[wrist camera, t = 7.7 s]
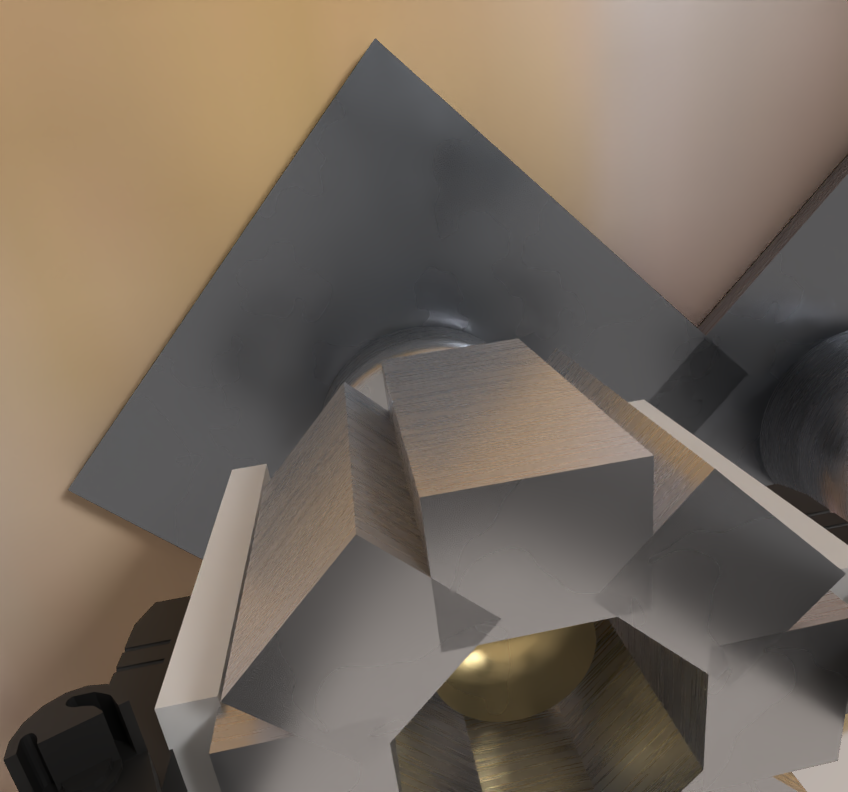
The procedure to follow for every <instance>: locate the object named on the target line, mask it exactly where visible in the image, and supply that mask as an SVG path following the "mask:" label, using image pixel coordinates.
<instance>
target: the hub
mask: <svg viewBox="0 0 848 792" xmlns="http://www.w3.org/2000/svg"><path fill="white" fill-rule="evenodd" d="M516 338H518V339H520V340H521V341H522V342H523V343H524V344H525V345H527V346H528V347H529V348H530V349H531V350H532V351H533V352H535V353H536V354H537V355H538V356H539V357H540V358H542V359H543V360H544V361H545V360H546V359H547V358H548V357H549V355H550V354H551V353H552V352H553V351H554V349H555V348H557V349H558V350H560V351H561V352H562V353H564V354H565V355H566V356H568V357H569V358H570V359H572V360H573V361H574V362H576V363H577V364H578V365H579V366H581V367H582V368H583V369H585V370H586V371H587V372H589V373H590V374H591V375H593V376H594V377H595V378H597V379H598V380H599V381H601V382H602V383H603V384H604V385H606V386H607V387H608V388H610V389H611V390H612V391H614V392H615V393H616V394H618V395H619V396H620V397H622V398H623V399H624V400H625V401H627V402H632V401H638V400H645V401H647V402H649V401H651V400H650V399H651V398H653V401H651V403H650V402H649V404H651V405H652V404H653V402H654V401H655V402H654V405H658V404H659V402H660V403H661V405H660V404H659V405H658V406H659V407H661V408H659V407H658V406H656V407H657V408H658V410H659V411H660V410H664V411H665V409H666V408H667V407H668V408H667V410H669V411H665V412H666V416H668V417H670V416H671V415H674V416H673V417H672V416H671V418H670V419H674V417H675V416H676V415H678V414H680V416H681V414H682V412H683V414H682V415H683V416H684V417H685V418H688V416H689V415H688V414H690V416H689V418H690V417H691V416H693V418H694V419H696V417H699V416H701V415H702V416H701V417H702V418H701V417H699V418H698V420H695V422H694V423H696V427H694V426H695V425H694V423H692V422H693V421H694V420H693V421H692V419H693V418H690V419H691V420H689V419H688V420H689V421H690V422H688V421H687V419H685V418H684V417H683V416H682V417H683V420H681V419H682V417H680V416H679V415H678V416H679V417H678V416H676V417H678V418H676V417H675V422H676V420H677V419H678V420H681V421H679V422H678V420H677V422H678V423H677V422H676V423H677V424H680V422H681V423H683V421H684V419H685V421H686V422H685V421H684V422H685V423H687V422H688V423H687V424H686V425H689V423H690V424H691V425H689V427H693V428H691V429H692V430H693V429H695V428H698V426H700V425H701V424H703V423H704V421H705V418H706V417H707V418H706V420H707V419H708V418H709V417H710V416H711V415H710V413H711V411H710V410H711V409H713V408H711V407H713V405H715V406H717V405H716V404H715V403H717V402H718V400H720V401H721V402H719V403H717V404H720V403H722V402H723V401H724V400H725V398H726V396H727V395H726V394H727V393H728V396H729V395H730V394H729V392H730V391H729V390H731V389H732V388H733V390H734V389H735V388H736V386H735V387H734V386H733V385H734V384H735V383H736V384H735V385H737V384H739V383H740V382H739V381H741V380H742V378H743V375H745V376H744V377H746V375H747V374H748V373H745V371H744V370H742V369H741V367H740V369H741V370H742V371H740V370H739V372H738V373H740V372H741V373H742V372H743V371H744V372H743V373H742V376H741V374H738V373H737V375H738V376H737V375H736V372H737V371H738V369H739V366H738V364H736V366H732V365H733V364H735V362H734V361H733V360H732V359H731V358H729V359H728V357H729V356H727V355H726V354H725V353H724V352H723V351H721V352H723V353H724V354H723V353H721V352H720V351H719V349H717V351H716V348H718V346H717V347H715V346H716V345H715V344H714V343H713V342H712V341H711V342H709V343H707V341H708V340H709V341H710V339H708V338H707V336H705V335H704V334H703V333H702V332H701V331H700V330H699V329H698V328H697V327H695V326H694V325H693V324H692V323H691V322H690V321H689V320H688V319H687V318H685V317H684V316H683V315H682V314H681V313H680V312H679V311H678V310H677V309H675V308H674V307H673V306H672V305H671V304H670V303H669V302H668V301H667V300H665V299H664V298H663V297H662V296H661V295H660V294H659V293H658V292H657V291H655V290H654V289H653V288H652V287H651V286H650V285H649V284H648V283H646V282H645V281H644V280H643V279H642V278H641V277H640V276H639V275H638V274H636V273H635V272H634V271H633V270H632V269H631V268H630V267H629V266H628V265H626V264H625V263H624V262H623V261H622V260H621V259H620V258H619V257H618V256H616V255H615V254H614V253H613V252H612V251H611V250H610V249H609V248H608V247H606V246H605V245H604V244H603V243H602V242H601V241H600V240H599V239H598V238H596V237H595V236H594V235H593V234H592V233H591V232H590V231H589V230H588V229H586V228H585V227H584V226H583V225H582V224H581V223H580V222H579V221H578V220H576V219H575V218H574V217H573V216H572V215H571V214H570V213H569V212H568V211H566V210H565V209H564V208H563V207H562V206H561V205H560V204H559V203H558V202H556V201H555V200H554V199H553V198H552V197H551V196H550V195H549V194H548V193H546V192H545V191H544V190H543V189H542V188H541V187H540V186H539V185H538V184H536V183H535V182H534V181H533V180H532V179H531V178H530V177H529V176H528V175H526V174H525V173H524V172H523V171H522V170H521V169H520V168H519V167H518V166H516V165H515V164H514V163H513V162H512V161H511V160H510V159H509V158H508V157H506V156H505V155H504V154H503V153H502V152H501V151H500V150H499V149H498V148H496V147H495V146H494V145H493V144H492V143H491V142H490V141H489V140H488V139H486V138H485V137H484V136H483V135H482V134H481V133H480V132H479V131H478V130H476V129H475V128H474V127H473V126H472V125H471V124H470V123H469V122H468V121H466V120H465V119H464V118H463V117H462V116H461V115H460V114H459V113H458V112H456V111H455V110H454V109H453V108H452V107H451V106H450V105H449V104H448V103H446V102H445V101H444V100H443V99H442V98H441V97H440V96H439V95H438V94H436V93H435V92H434V91H433V90H432V89H431V88H430V87H429V86H428V85H426V84H425V83H424V82H423V81H422V80H421V79H420V78H419V77H418V76H416V75H415V74H414V73H413V72H412V71H411V70H410V69H409V68H408V67H406V66H405V65H404V64H403V63H402V62H401V61H400V60H399V59H398V58H396V57H395V56H394V55H393V54H392V53H391V52H390V51H389V50H388V49H386V48H385V47H384V46H383V45H382V44H381V43H380V42H379V41H378V40H376V39H374V41H373V42H372V44H371V45H370V46H369V48H368V49H367V51H366V52H365V54H364V55H363V57H362V58H361V60H360V61H359V63H358V64H357V66H356V67H355V69H354V70H353V71H352V73H351V74H350V76H349V77H348V79H347V80H346V82H345V83H344V85H343V86H342V88H341V89H340V91H339V92H338V94H337V95H336V96H335V98H334V99H333V101H332V102H331V104H330V105H329V107H328V108H327V110H326V111H325V113H324V114H323V116H322V117H321V118H320V120H319V121H318V123H317V124H316V126H315V127H314V129H313V130H312V132H311V133H310V135H309V136H308V138H307V139H306V141H305V142H304V143H303V145H302V146H301V148H300V149H299V151H298V152H297V154H296V155H295V157H294V158H293V160H292V161H291V163H290V164H289V166H288V167H287V168H286V170H285V171H284V173H283V174H282V176H281V177H280V179H279V180H278V182H277V183H276V185H275V186H274V188H273V189H272V191H271V192H270V193H269V195H268V196H267V198H266V199H265V201H264V202H263V204H262V205H261V207H260V208H259V210H258V211H257V213H256V214H255V216H254V217H253V218H252V220H251V221H250V223H249V224H248V226H247V227H246V229H245V230H244V232H243V233H242V235H241V236H240V238H239V239H238V240H237V242H236V243H235V245H234V246H233V248H232V249H231V251H230V252H229V254H228V255H227V257H226V258H225V260H224V261H223V263H222V264H221V265H220V267H219V268H218V270H217V271H216V273H215V274H214V276H213V277H212V279H211V280H210V282H209V283H208V285H207V286H206V288H205V289H204V290H203V292H202V293H201V295H200V296H199V298H198V299H197V301H196V302H195V304H194V305H193V307H192V308H191V310H190V311H189V313H188V314H187V315H186V317H185V318H184V320H183V321H182V323H181V324H180V326H179V327H178V329H177V330H176V332H175V333H174V335H173V336H172V338H171V339H170V340H169V342H168V343H167V345H166V346H165V348H164V349H163V351H162V352H161V354H160V355H159V357H158V358H157V360H156V361H155V362H154V364H153V365H152V367H151V368H150V370H149V371H148V373H147V374H146V376H145V377H144V379H143V380H142V382H141V383H140V385H139V386H138V387H137V389H136V390H135V392H134V393H133V395H132V396H131V398H130V399H129V401H128V402H127V404H126V405H125V407H124V408H123V410H122V411H121V412H120V414H119V415H118V417H117V418H116V420H115V421H114V423H113V424H112V426H111V427H110V429H109V430H108V432H107V433H106V435H105V436H104V437H103V439H102V440H101V442H100V443H99V445H98V446H97V448H96V449H95V451H94V452H93V454H92V455H91V457H90V458H89V460H88V461H87V462H86V464H85V465H84V467H83V468H82V470H81V471H80V473H79V474H78V476H77V477H76V479H75V480H74V482H73V483H72V484H71V486H70V487H69V489H68V490H69V491H71V492H73V493H75V494H77V495H78V496H80V497H82V498H84V499H86V500H88V501H90V502H92V503H94V504H96V505H98V506H100V507H102V508H104V509H106V510H108V511H109V512H111V513H113V514H115V515H117V516H119V517H121V518H123V519H125V520H127V521H129V522H131V523H133V524H135V525H137V526H139V527H140V528H142V529H144V530H146V531H148V532H150V533H152V534H154V535H156V536H158V537H160V538H162V539H164V540H166V541H168V542H170V543H172V544H173V545H175V546H177V547H179V548H181V549H183V550H185V551H187V552H189V553H191V554H193V555H195V556H197V557H199V558H201V559H203V558H204V555H205V552H206V549H207V545H208V542H209V539H210V536H211V533H212V530H213V527H214V524H215V521H216V518H217V515H218V512H219V508H220V505H221V502H222V499H223V496H224V493H225V490H226V487H227V484H228V481H229V478H230V475H231V471H232V470H233V469H239V468H245V467H250V466H256V465H262V464H267V467H268V471H269V476H270V479H271V477H272V476H273V475H274V473H275V472H276V471H277V469H278V468H279V467H280V465H281V464H282V463H283V462H284V460H285V459H286V458H287V456H288V455H289V454H290V452H291V451H292V450H293V448H294V447H295V446H296V444H297V443H298V442H299V440H300V439H301V438H302V436H303V435H304V434H305V432H306V431H307V430H308V429H309V427H310V426H311V425H312V423H313V422H314V421H315V419H316V418H317V417H318V415H319V414H320V413H321V411H322V410H323V409H324V407H325V406H326V405H327V403H328V402H329V401H330V399H331V398H332V397H333V396H334V394H335V393H336V392H337V390H338V389H339V388H340V386H341V385H342V384H343V382H346V383H347V384H349V385H350V386H352V387H353V388H355V389H356V390H358V391H359V392H361V393H362V394H364V395H365V396H367V397H368V398H370V399H371V400H373V401H374V402H376V403H377V404H379V405H380V406H381V407H383V408H384V409H386V410H387V411H388V405H387V398H386V392H385V385H384V378H383V372H382V365H381V360H383V359H389V358H396V357H402V356H408V355H415V354H421V353H427V352H434V351H440V350H446V349H453V348H459V347H466V346H472V345H478V344H485V343H491V342H497V341H504V340H510V339H516ZM703 339H704V340H703ZM707 339H708V340H707ZM702 340H703V343H702ZM705 340H706V341H705ZM700 342H701V343H702V344H699V343H700ZM704 342H706V343H707V344H706V343H705V344H704ZM710 343H713V345H715V346H713V345H712V346H711V345H709V344H710ZM703 344H704V346H705V345H708V346H706V349H705V347H704V346H703ZM699 345H700V346H699ZM701 345H702V346H701ZM709 346H711V349H710V347H709ZM700 347H701V348H700ZM702 347H703V348H702ZM707 347H709V348H708V349H707ZM713 347H715V351H716V352H715V351H713V350H714V349H713ZM695 348H696V349H697V348H698V349H700V351H701V350H703V349H705V350H707V351H709V349H710V352H708V353H707V351H705V352H706V354H705V357H706V358H708V357H709V359H707V362H708V363H710V364H713V363H714V364H713V367H714V366H715V364H716V365H717V363H718V364H719V365H718V366H715V367H714V370H713V369H711V368H712V367H711V366H712V365H710V364H708V363H707V364H708V366H707V364H706V365H705V368H706V369H707V370H708V372H709V371H710V372H709V374H711V372H712V371H713V372H715V373H714V374H713V372H712V374H713V375H712V374H711V375H712V377H713V378H714V375H715V374H716V372H717V370H718V371H719V370H720V371H719V372H717V373H718V375H719V376H720V374H719V373H722V372H723V370H724V369H725V371H726V372H725V371H724V372H723V373H724V375H723V373H722V376H723V377H724V376H725V375H726V376H727V378H730V376H731V378H732V375H733V376H734V377H733V378H732V379H733V380H734V378H735V377H736V378H735V380H737V382H739V383H737V382H735V383H732V382H733V380H732V381H731V378H730V379H726V378H723V379H725V381H726V380H727V381H726V382H728V380H729V382H728V384H727V383H726V382H725V381H724V380H723V379H722V377H720V379H719V376H718V378H717V377H715V379H714V381H716V382H718V381H719V382H718V385H719V384H720V383H722V380H723V382H724V383H725V384H724V383H723V384H722V386H723V387H724V388H723V387H722V386H721V385H719V387H720V386H721V387H720V388H715V386H716V385H717V383H714V381H713V383H714V384H713V385H709V386H708V383H709V382H710V381H708V383H706V381H707V380H711V378H712V377H711V376H710V375H709V376H710V377H708V375H707V374H708V372H707V370H704V369H705V368H704V367H703V366H704V364H705V363H704V362H706V358H705V357H704V354H703V353H704V352H703V351H704V350H703V351H702V352H701V354H703V355H701V354H700V351H699V350H697V351H695V350H694V349H695ZM711 350H712V351H711ZM692 351H693V354H692V356H691V353H692ZM718 351H719V352H718ZM695 352H696V353H695ZM713 352H715V353H713ZM717 352H718V353H721V354H722V355H720V354H718V356H719V355H720V357H718V356H715V354H716V355H717ZM709 353H710V354H711V355H710V354H709ZM712 353H713V355H712ZM695 354H696V356H695ZM697 354H698V355H697ZM699 354H700V355H699ZM708 355H710V356H708ZM724 355H726V356H727V357H725V356H724ZM688 356H689V358H690V356H691V358H690V359H689V360H688ZM693 356H694V357H693ZM698 356H699V357H700V356H701V359H700V361H702V362H700V361H699V360H697V359H698V358H699V357H698ZM707 356H708V357H707ZM713 356H715V357H713ZM722 356H723V358H724V357H725V358H724V359H726V358H727V359H728V360H729V362H728V361H727V359H726V361H727V362H726V361H725V360H724V359H723V361H722V362H723V363H724V361H725V363H724V364H723V365H722V364H721V365H722V368H723V367H724V369H721V365H720V363H721V362H719V361H721V360H722V358H721V357H722ZM692 357H693V358H692ZM696 357H697V358H696ZM702 357H704V358H702ZM711 357H712V358H713V360H714V361H715V362H716V363H715V362H713V360H712V359H711ZM716 357H717V359H718V358H720V359H721V360H720V359H718V360H717V359H715V358H716ZM695 358H696V361H699V362H700V363H701V364H700V363H698V362H696V363H694V362H695ZM693 359H694V360H693ZM704 359H705V361H704ZM710 359H711V360H712V361H711V360H710ZM730 359H731V360H732V361H733V362H732V363H731V364H732V365H730V364H728V363H730V362H731V361H730ZM685 360H686V361H688V365H687V362H686V361H685ZM690 360H693V361H694V362H691V361H690ZM689 361H690V362H691V363H693V365H692V364H690V363H689ZM709 361H710V362H709ZM685 362H686V363H685ZM683 363H685V365H686V366H687V367H686V366H684V364H683ZM697 363H698V364H699V365H698V364H697ZM702 363H704V364H702ZM726 363H727V364H728V365H727V364H726ZM682 364H683V365H682ZM689 364H690V366H689ZM695 364H697V367H698V368H699V369H698V371H699V370H702V369H703V371H702V373H699V372H698V371H695V372H694V370H697V368H696V367H695V366H696V365H695ZM700 365H701V366H700ZM702 365H703V366H702ZM693 366H694V368H693V369H692V367H693ZM699 366H700V367H699ZM706 366H707V367H708V368H709V369H710V370H709V369H708V368H707V367H706ZM709 366H710V367H711V368H710V367H709ZM719 366H720V367H719ZM731 366H732V367H733V368H730V367H731ZM679 367H680V368H681V369H682V367H684V368H685V369H686V370H685V371H687V372H685V371H684V370H683V371H684V372H685V374H686V375H687V374H688V372H689V371H690V372H691V374H693V375H690V372H689V374H688V375H690V376H689V378H691V376H692V378H693V376H694V375H695V374H696V375H695V376H696V377H697V379H696V380H698V378H699V377H698V376H699V375H700V374H701V376H700V378H699V380H698V381H701V382H700V384H699V382H697V384H699V385H697V384H696V380H695V384H694V382H692V381H693V379H695V378H696V377H695V376H694V378H693V379H691V380H690V379H687V378H688V376H686V375H685V374H684V373H683V371H681V369H680V368H679ZM688 367H689V368H688ZM690 367H691V369H690ZM701 367H702V368H701ZM717 367H719V368H717ZM726 367H728V368H730V369H731V370H734V371H735V370H736V371H735V372H734V373H735V375H736V376H735V375H734V373H732V372H733V371H732V372H730V373H731V374H732V375H730V373H729V371H728V370H730V369H728V368H727V369H728V370H726ZM734 367H735V369H734ZM677 368H678V370H677ZM684 368H683V369H684ZM716 368H717V369H716ZM736 368H737V369H736ZM687 369H690V370H687ZM715 369H716V371H715ZM679 370H680V371H681V373H682V374H684V375H683V376H684V377H683V376H678V377H677V378H679V379H680V378H681V379H680V381H679V379H675V378H676V377H675V376H677V374H678V375H679V374H680V372H679ZM691 370H693V371H691ZM676 371H677V372H679V373H677V372H676ZM721 371H722V372H721ZM697 372H698V373H699V374H697ZM703 372H705V373H707V374H706V377H705V373H704V375H703ZM727 372H728V373H729V375H728V374H727ZM673 373H676V374H675V376H673V375H674V374H673ZM744 373H745V374H744ZM672 374H673V375H672ZM682 374H680V375H682ZM671 375H672V377H671ZM697 375H698V376H697ZM715 376H716V375H715ZM728 376H729V377H728ZM740 376H741V379H740V380H739V377H740ZM673 377H674V378H673ZM682 377H683V381H684V384H686V385H687V384H688V383H689V384H691V383H693V384H694V385H697V386H696V387H697V388H696V387H695V389H698V387H700V386H701V387H700V390H701V389H706V388H707V387H710V386H711V387H710V388H707V389H706V390H707V391H708V390H709V389H710V390H712V391H710V390H709V392H708V393H707V392H706V391H705V390H704V391H703V390H701V391H702V392H703V393H704V392H706V393H705V394H702V392H700V393H701V395H700V396H701V398H700V396H699V395H698V394H700V393H699V392H696V391H700V390H699V389H698V390H696V391H695V389H694V385H693V384H691V385H687V387H686V386H685V385H684V384H683V386H685V388H686V389H685V388H684V387H682V385H681V383H683V381H682ZM685 378H686V380H684V379H685ZM701 378H702V379H703V378H706V379H705V380H706V381H705V380H703V381H702V379H701ZM708 378H710V379H708ZM713 378H712V379H713ZM716 378H717V379H716ZM737 378H738V379H737ZM673 379H674V380H675V381H676V382H677V380H678V384H679V386H680V385H681V386H680V387H679V386H678V384H677V383H676V382H674V380H673ZM718 379H719V380H718ZM721 379H722V380H721ZM743 379H744V378H743ZM667 380H669V381H670V382H669V381H667ZM689 380H690V381H691V382H690V381H689ZM720 380H721V382H720ZM735 380H734V381H735ZM738 380H739V381H738ZM671 381H672V382H671ZM686 381H688V382H687V383H685V382H686ZM711 381H712V380H711ZM665 382H666V383H665ZM668 382H669V384H668V385H667V383H668ZM673 382H674V383H673ZM704 382H705V383H706V384H705V385H706V386H705V385H704V386H703V384H704ZM675 383H676V385H675ZM702 383H703V384H702ZM710 383H711V382H710ZM710 383H709V384H710ZM730 383H731V384H730ZM671 384H674V385H675V386H674V385H672V386H671ZM726 384H727V385H726ZM729 384H730V385H729ZM666 385H667V386H666ZM731 385H732V386H733V387H732V386H731ZM662 386H665V387H666V388H668V387H669V386H670V387H672V388H671V390H672V389H673V391H672V392H675V393H674V395H675V394H676V392H677V393H678V395H679V394H680V393H681V397H682V396H683V395H684V396H686V397H685V398H684V396H683V398H684V399H683V398H680V397H678V396H677V394H676V396H677V398H676V396H674V395H673V396H674V397H672V396H671V395H672V394H673V393H671V390H670V389H669V388H670V387H669V388H668V389H669V390H666V388H665V387H663V388H661V387H662ZM673 386H674V387H673ZM677 386H678V387H677ZM689 386H690V387H692V386H693V387H692V388H693V389H694V391H695V392H696V393H697V394H696V393H695V392H694V391H692V389H691V388H690V389H691V392H692V394H693V395H695V394H696V398H698V397H697V396H699V398H700V399H701V400H704V399H702V397H703V398H704V397H705V396H706V397H707V399H708V400H711V399H710V398H715V397H716V396H715V395H717V396H718V397H719V395H720V394H719V393H720V392H722V393H723V392H725V389H726V390H728V389H729V390H728V392H727V391H726V392H725V393H726V394H724V393H723V394H724V395H726V396H724V397H725V398H724V397H722V396H723V395H722V393H721V395H722V396H721V395H720V397H722V398H723V399H722V398H721V399H722V400H721V399H720V398H718V397H716V399H712V401H710V402H711V404H712V402H714V404H712V406H711V405H710V402H709V401H708V404H709V405H710V408H709V409H710V410H709V409H707V407H708V406H709V405H708V404H707V402H706V401H707V399H706V397H705V400H706V401H705V400H704V401H701V402H702V403H701V402H700V401H699V402H697V401H698V400H700V399H699V398H698V399H697V400H695V399H696V398H695V396H693V395H692V394H691V395H692V396H693V397H694V398H693V397H692V396H691V395H689V396H688V397H687V395H688V393H691V392H689V391H690V390H689V389H688V388H689ZM712 386H714V387H713V389H712ZM728 386H731V389H730V388H727V387H728ZM737 386H738V385H737ZM676 387H677V388H676ZM681 387H682V389H683V388H684V390H682V389H681ZM716 387H717V386H716ZM725 387H726V388H725ZM660 388H661V389H660ZM675 388H676V391H674V389H675ZM678 388H679V390H678ZM659 389H660V390H659ZM662 389H663V391H664V389H665V390H666V391H667V393H666V391H665V392H664V394H665V393H666V395H664V394H663V392H662ZM714 389H715V390H714ZM716 389H717V390H718V389H719V391H720V392H719V391H718V392H719V393H718V392H717V391H716ZM722 389H723V391H721V390H722ZM680 390H681V391H682V392H680V393H679V392H678V391H680ZM686 390H687V391H688V393H686ZM713 390H714V391H713ZM733 390H732V391H733ZM657 391H659V392H657ZM668 391H669V393H670V394H671V395H670V394H669V395H667V394H668ZM715 391H716V392H717V393H716V392H715ZM732 391H731V392H732ZM660 392H662V393H660ZM684 392H685V393H684ZM710 392H711V393H710ZM712 392H713V393H714V392H715V394H714V395H712ZM657 393H658V394H657ZM683 393H684V394H683ZM694 393H695V394H694ZM656 394H657V395H659V394H661V395H660V397H659V396H658V397H657V398H659V399H657V398H656V399H657V400H658V401H657V400H656V399H655V398H654V395H655V397H656ZM706 394H707V395H708V396H710V397H708V396H707V395H706ZM709 394H710V395H709ZM662 395H663V396H664V399H663V398H662V399H661V401H662V402H661V401H660V398H661V397H663V396H662ZM667 396H668V397H670V398H668V397H667ZM711 396H714V397H711ZM728 396H727V397H728ZM671 397H672V399H671ZM666 398H667V399H668V400H667V399H666ZM688 398H691V399H692V400H693V399H694V401H692V402H691V399H688ZM670 399H671V400H672V401H673V400H674V399H677V400H678V401H677V400H674V401H673V402H672V401H670V404H671V402H672V405H673V406H672V405H671V406H668V405H670V404H668V401H669V400H670ZM681 399H682V400H681ZM685 399H686V400H685ZM687 399H688V400H687ZM717 399H718V400H717ZM663 400H664V401H663ZM665 400H666V401H667V403H666V401H665ZM684 400H685V401H684ZM714 400H715V401H714ZM675 401H676V402H678V403H676V402H675ZM679 401H681V402H679ZM686 401H688V402H687V403H686ZM689 401H690V402H689ZM695 401H696V402H697V403H698V405H697V403H694V402H695ZM716 401H717V402H716ZM656 402H657V403H656ZM663 402H664V403H663ZM674 402H675V403H676V405H678V404H679V403H680V405H681V404H683V403H686V404H687V407H686V406H685V405H686V404H685V405H684V404H683V405H681V406H679V407H680V408H679V407H677V406H674V405H675V403H674ZM682 402H683V403H682ZM703 402H704V403H703ZM705 402H706V404H707V405H708V406H707V405H706V404H705ZM655 403H656V404H655ZM692 403H693V404H692ZM699 403H701V404H705V406H707V407H706V409H705V406H704V405H702V406H701V408H700V405H701V404H699ZM665 404H666V405H667V406H666V407H664V406H665ZM689 404H691V405H692V406H693V405H694V406H695V407H694V408H698V407H699V408H700V409H699V408H698V409H697V410H696V411H693V410H694V408H693V410H692V408H690V407H689V406H691V405H689ZM654 405H652V406H654ZM696 405H697V406H696ZM720 405H721V404H720ZM662 406H663V407H662ZM683 406H684V407H686V408H683ZM654 407H655V406H654ZM656 407H655V408H656ZM670 407H672V408H670ZM675 407H677V408H678V409H677V408H675ZM681 407H682V408H683V410H684V411H683V410H682V408H681ZM718 407H719V406H717V408H718ZM669 408H670V409H669ZM674 408H675V409H676V410H675V409H674ZM688 408H690V409H688ZM702 408H703V412H705V413H706V411H707V410H708V411H710V412H709V413H708V414H709V415H708V416H707V413H706V415H705V416H704V415H703V414H704V413H703V412H702V413H703V414H702V413H701V412H699V410H700V411H701V409H702ZM714 408H715V409H717V408H716V407H714ZM673 409H674V410H675V411H674V412H675V414H672V413H674V412H672V413H670V414H669V415H667V414H668V413H669V412H671V410H672V411H673ZM680 409H681V410H680ZM686 409H687V410H689V411H686ZM715 409H713V411H714V410H715ZM679 410H680V411H679ZM690 410H692V412H691V411H690ZM704 410H705V411H704ZM664 411H663V413H664V414H665V412H664ZM677 411H678V412H677ZM708 411H707V412H708ZM713 411H712V413H713ZM667 412H668V413H667ZM676 412H677V413H678V414H677V413H676ZM679 412H680V413H679ZM684 412H685V413H686V414H685V415H684ZM690 412H691V413H690ZM693 412H695V413H693ZM697 412H699V414H700V413H701V415H699V414H696V413H697ZM687 413H688V414H687ZM712 413H711V414H712ZM696 415H699V416H696ZM686 416H687V417H686ZM694 416H695V417H694ZM703 416H704V417H703ZM680 418H681V419H680ZM700 418H701V419H702V420H703V418H704V420H703V422H702V421H701V419H700ZM699 420H700V422H698V421H699ZM673 421H674V420H673ZM685 423H684V424H685ZM698 423H700V424H699V425H698ZM684 424H683V425H682V427H683V428H684V429H685V428H686V429H687V427H688V426H686V425H685V427H684ZM692 424H693V425H694V426H693V425H692ZM680 426H681V424H680ZM700 427H701V426H700ZM691 429H690V428H689V429H688V430H687V431H689V430H691ZM692 430H691V431H689V432H690V433H692V432H693V431H694V430H693V431H692ZM697 430H698V429H696V430H695V432H696V431H697ZM695 432H694V433H695ZM692 434H693V433H692ZM595 648H596V632H595V627H594V623H593V622H589V623H584V624H579V625H574V626H569V627H565V628H560V629H555V630H550V631H545V632H540V633H535V634H530V635H525V636H520V637H516V638H511V639H506V640H501V641H496V642H491V643H486V644H481V645H478V646H477V647H476V648H475V649H474V650H473V651H472V652H471V653H470V654H469V656H468V657H467V658H466V659H465V660H464V661H463V662H462V663H461V665H460V666H459V667H458V668H457V669H456V670H455V671H454V672H453V673H452V675H451V676H450V677H449V678H448V679H447V680H446V681H445V682H444V683H443V685H442V686H441V687H440V688H439V689H438V690H437V693H438V695H439V696H440V697H441V699H442V700H443V701H444V702H445V703H446V704H447V705H448V706H450V707H451V708H452V709H454V710H455V711H457V712H459V713H460V714H463V715H465V716H467V717H470V718H473V719H477V720H482V721H489V722H506V721H514V720H520V719H524V718H527V717H531V716H533V715H536V714H539V713H541V712H543V711H545V710H547V709H549V708H551V707H552V706H554V705H556V704H557V703H559V702H560V701H561V700H563V699H564V698H565V697H567V696H568V695H569V694H570V693H571V692H572V691H573V690H574V689H575V688H576V687H577V686H578V684H579V683H580V682H581V681H582V679H583V678H584V676H585V675H586V673H587V671H588V669H589V667H590V665H591V663H592V660H593V657H594V653H595Z"/></svg>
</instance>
